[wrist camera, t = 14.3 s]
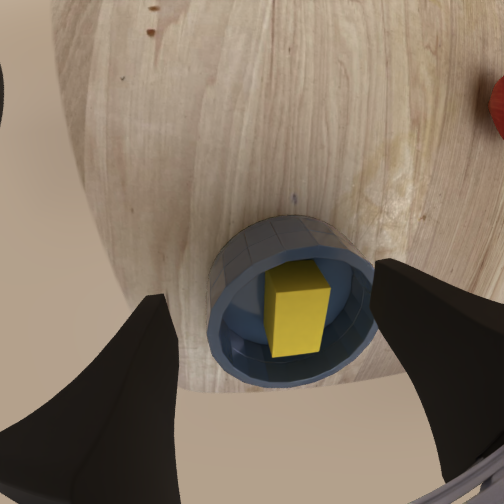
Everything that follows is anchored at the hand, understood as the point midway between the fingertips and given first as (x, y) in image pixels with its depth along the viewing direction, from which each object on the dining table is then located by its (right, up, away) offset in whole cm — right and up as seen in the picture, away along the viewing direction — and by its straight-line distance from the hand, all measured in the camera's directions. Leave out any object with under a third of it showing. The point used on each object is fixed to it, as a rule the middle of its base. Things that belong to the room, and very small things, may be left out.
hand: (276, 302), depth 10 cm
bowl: (+1, -1, +9) cm, 9 cm away
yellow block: (+1, -1, +8) cm, 8 cm away
